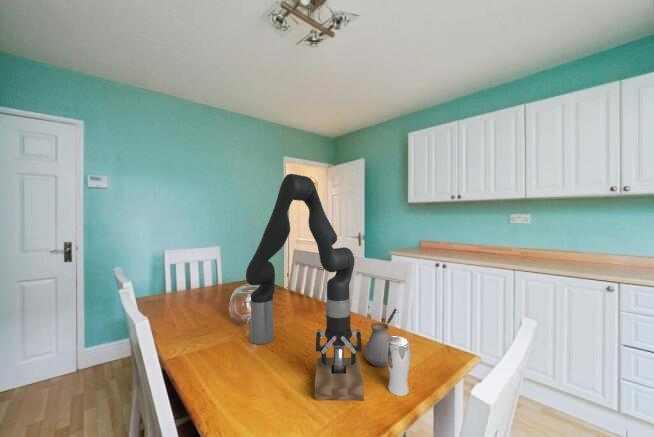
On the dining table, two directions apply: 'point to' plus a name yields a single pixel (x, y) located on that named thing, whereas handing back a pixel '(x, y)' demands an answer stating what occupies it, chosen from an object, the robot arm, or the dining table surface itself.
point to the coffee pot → (378, 343)
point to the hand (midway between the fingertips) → (338, 363)
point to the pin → (338, 359)
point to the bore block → (339, 381)
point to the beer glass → (398, 364)
